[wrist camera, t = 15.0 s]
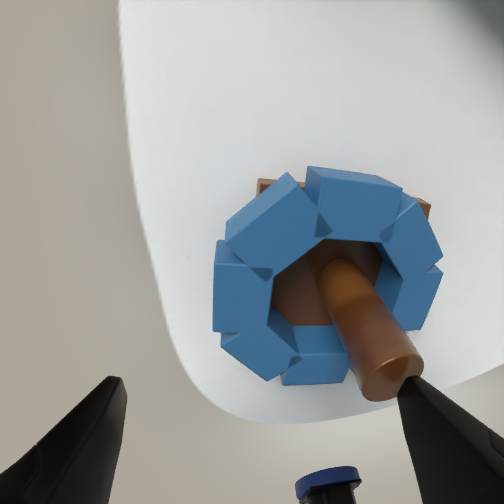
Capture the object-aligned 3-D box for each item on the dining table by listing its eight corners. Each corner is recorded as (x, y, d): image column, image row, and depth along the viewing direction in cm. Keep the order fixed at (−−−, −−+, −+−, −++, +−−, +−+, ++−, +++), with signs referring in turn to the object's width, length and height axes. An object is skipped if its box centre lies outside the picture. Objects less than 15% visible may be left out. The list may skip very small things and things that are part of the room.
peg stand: (380, 330, 18) (432, 427, 11) (243, 331, 18) (251, 454, 10) (420, 198, 15) (525, 266, 7) (257, 178, 14) (284, 253, 7)
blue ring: (383, 351, 18) (397, 377, 16) (214, 354, 17) (212, 384, 15) (437, 187, 13) (465, 200, 11) (221, 158, 12) (218, 167, 10)
